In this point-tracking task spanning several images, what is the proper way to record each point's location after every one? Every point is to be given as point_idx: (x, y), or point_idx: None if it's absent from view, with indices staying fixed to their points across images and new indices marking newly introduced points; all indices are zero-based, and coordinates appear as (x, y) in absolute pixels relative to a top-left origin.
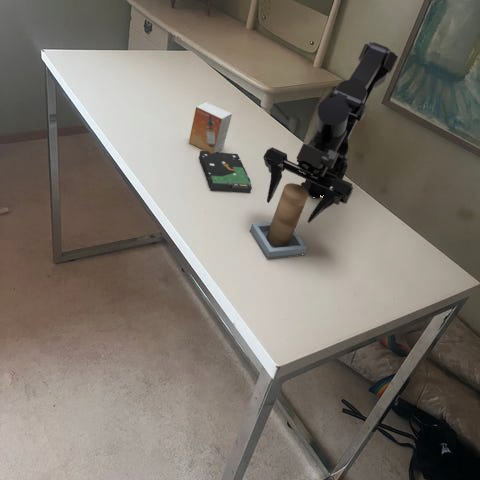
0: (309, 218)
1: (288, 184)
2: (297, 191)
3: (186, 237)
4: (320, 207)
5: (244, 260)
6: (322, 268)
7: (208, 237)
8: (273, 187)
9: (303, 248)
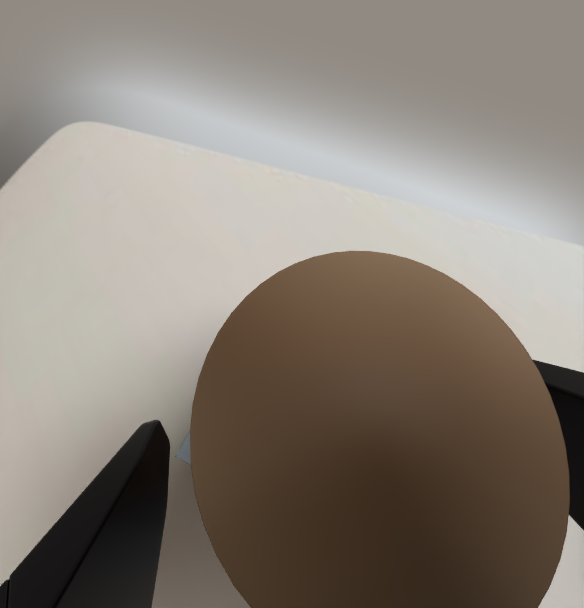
0: (148, 432)
1: (544, 431)
2: (361, 404)
3: (428, 211)
4: (20, 585)
5: (296, 259)
6: (96, 453)
7: (409, 249)
8: (549, 382)
9: (187, 437)
